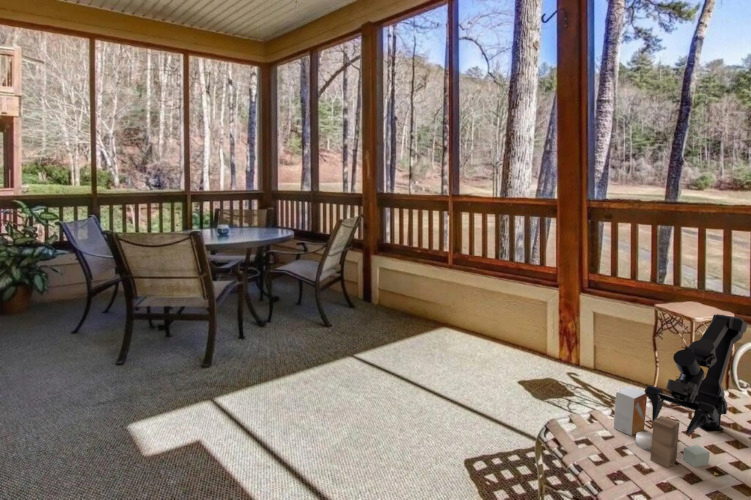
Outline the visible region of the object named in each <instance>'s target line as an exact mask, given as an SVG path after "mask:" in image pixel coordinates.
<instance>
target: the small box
mask: <svg viewBox="0 0 751 500" xmlns="http://www.w3.org/2000/svg"><path fill="white" fill-rule="evenodd" d="M644 391H645V390H641V389H638V388H637V387H633V386H631V385H629V386H626V387H624V388H622V389H620V390H618V391H616V392H615V403H614V404H615V405H614V406H615V407H614V417H613V419H614V421H613V428H614V429H615V430H617V431H619V432H622V433H623V434H626V435H628V436H631V437H632V436H634V435H636V433H637V432H642V431H643V430H645V425H646V423H645V421H646V411H647V401H648V397H647V395H646V393H645V392H644Z"/></svg>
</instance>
